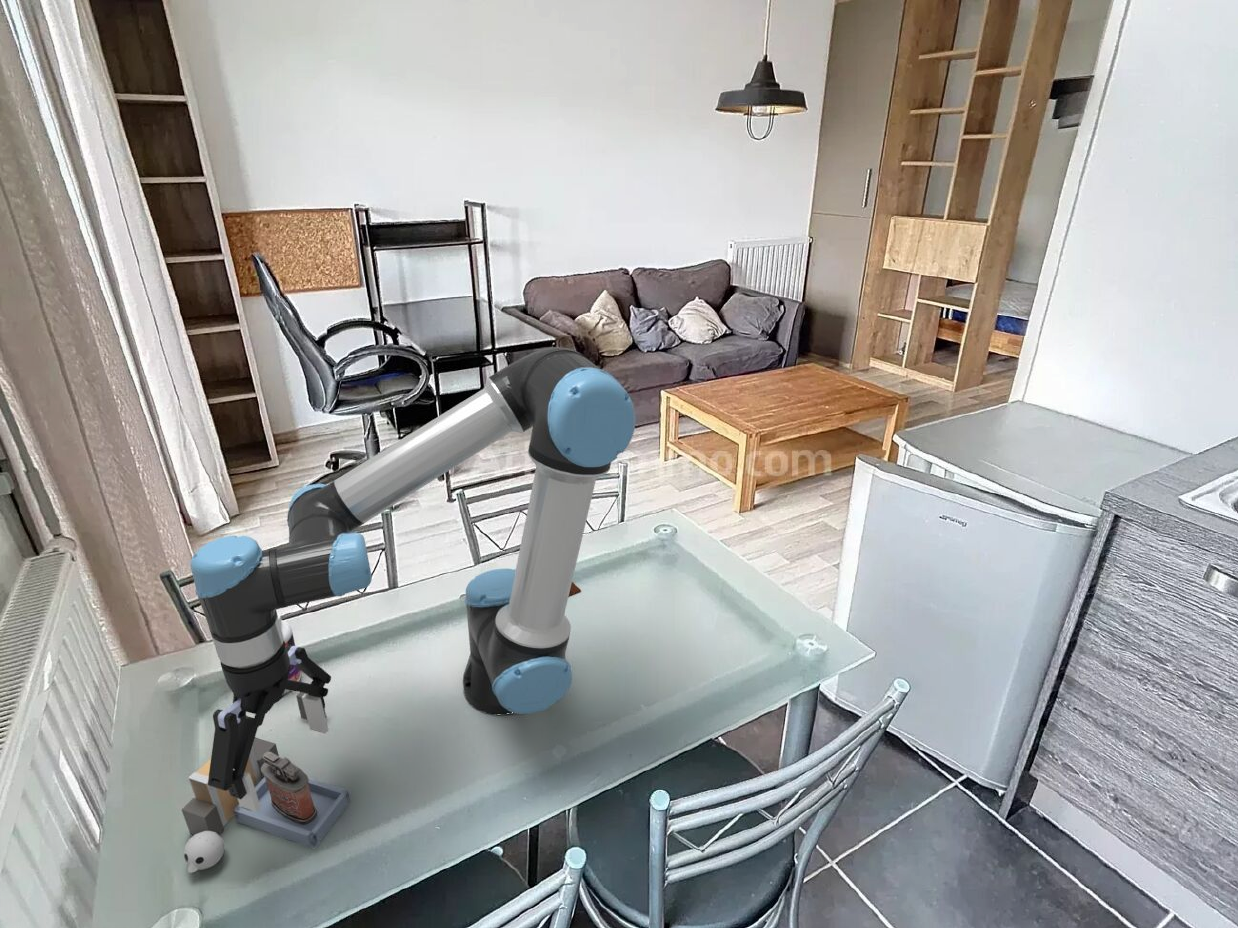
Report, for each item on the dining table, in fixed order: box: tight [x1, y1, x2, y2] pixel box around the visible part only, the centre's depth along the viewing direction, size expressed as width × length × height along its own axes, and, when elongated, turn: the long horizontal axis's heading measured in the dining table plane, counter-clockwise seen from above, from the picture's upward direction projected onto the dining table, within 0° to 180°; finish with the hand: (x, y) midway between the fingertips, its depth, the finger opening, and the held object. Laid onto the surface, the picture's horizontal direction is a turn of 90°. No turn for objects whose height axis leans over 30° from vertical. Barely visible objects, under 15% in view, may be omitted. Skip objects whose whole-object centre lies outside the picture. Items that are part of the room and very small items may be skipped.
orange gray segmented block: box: [181, 692, 327, 836], centre depth 104 cm, size 4×24×9 cm, turn 163°
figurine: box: [183, 831, 225, 874], centre depth 92 cm, size 5×5×5 cm
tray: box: [234, 777, 351, 849], centre depth 100 cm, size 13×8×2 cm, turn 73°
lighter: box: [261, 752, 317, 825], centre depth 98 cm, size 8×3×10 cm, turn 62°
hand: (287, 766), depth 96 cm, fingers open, 13 cm apart
